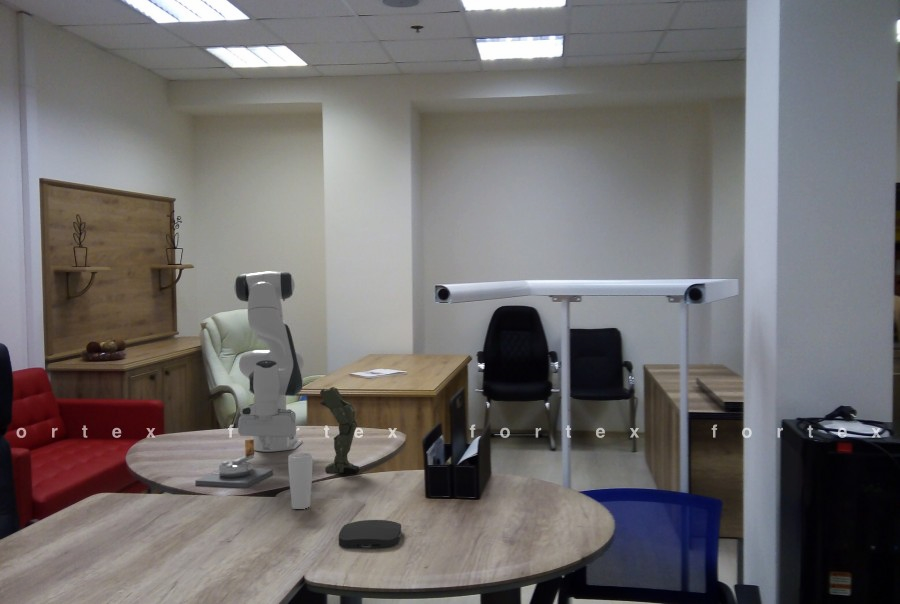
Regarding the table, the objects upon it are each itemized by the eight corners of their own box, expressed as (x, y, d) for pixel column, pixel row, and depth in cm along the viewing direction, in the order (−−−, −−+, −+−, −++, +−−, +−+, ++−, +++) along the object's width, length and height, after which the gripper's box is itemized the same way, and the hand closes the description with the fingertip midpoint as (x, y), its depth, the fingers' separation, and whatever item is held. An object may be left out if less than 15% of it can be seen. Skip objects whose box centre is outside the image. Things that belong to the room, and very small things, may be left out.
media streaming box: (346, 530, 187) (346, 518, 187) (403, 530, 187) (403, 518, 187) (335, 550, 173) (335, 537, 173) (397, 550, 172) (397, 537, 172)
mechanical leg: (370, 466, 252) (348, 382, 252) (365, 471, 245) (343, 384, 245) (332, 475, 253) (311, 391, 254) (327, 480, 246) (305, 394, 247)
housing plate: (224, 471, 250) (224, 466, 250) (272, 473, 246) (272, 468, 246) (195, 485, 232) (195, 479, 232) (246, 487, 229) (246, 482, 229)
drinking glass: (318, 507, 206) (317, 454, 206) (298, 512, 201) (297, 458, 201) (303, 502, 211) (303, 451, 211) (284, 508, 206) (283, 455, 206)
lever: (241, 478, 233) (241, 449, 233) (213, 477, 235) (212, 448, 235) (265, 466, 249) (265, 439, 249) (238, 465, 252) (238, 438, 251)
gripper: (299, 408, 248) (299, 448, 248) (244, 406, 253) (245, 446, 253) (291, 411, 242) (292, 452, 242) (235, 409, 247) (235, 450, 247)
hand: (267, 449), depth 248 cm, fingers closed
